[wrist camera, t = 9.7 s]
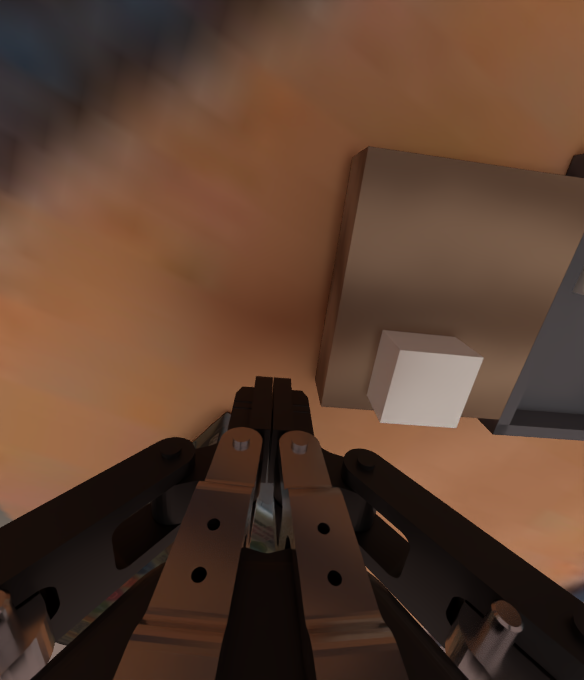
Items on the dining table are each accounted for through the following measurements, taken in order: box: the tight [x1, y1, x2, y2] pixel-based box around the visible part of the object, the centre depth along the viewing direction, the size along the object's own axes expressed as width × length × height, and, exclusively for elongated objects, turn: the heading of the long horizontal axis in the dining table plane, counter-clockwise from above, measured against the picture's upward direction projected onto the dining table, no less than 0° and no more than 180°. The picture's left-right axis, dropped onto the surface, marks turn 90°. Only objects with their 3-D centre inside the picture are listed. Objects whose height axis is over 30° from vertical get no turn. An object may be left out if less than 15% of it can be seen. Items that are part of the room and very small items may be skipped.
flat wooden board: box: [315, 146, 584, 419], centre depth 17 cm, size 13×11×3 cm
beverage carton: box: [56, 413, 275, 646], centre depth 22 cm, size 8×19×7 cm, turn 134°
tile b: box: [367, 330, 484, 428], centre depth 16 cm, size 4×4×2 cm
